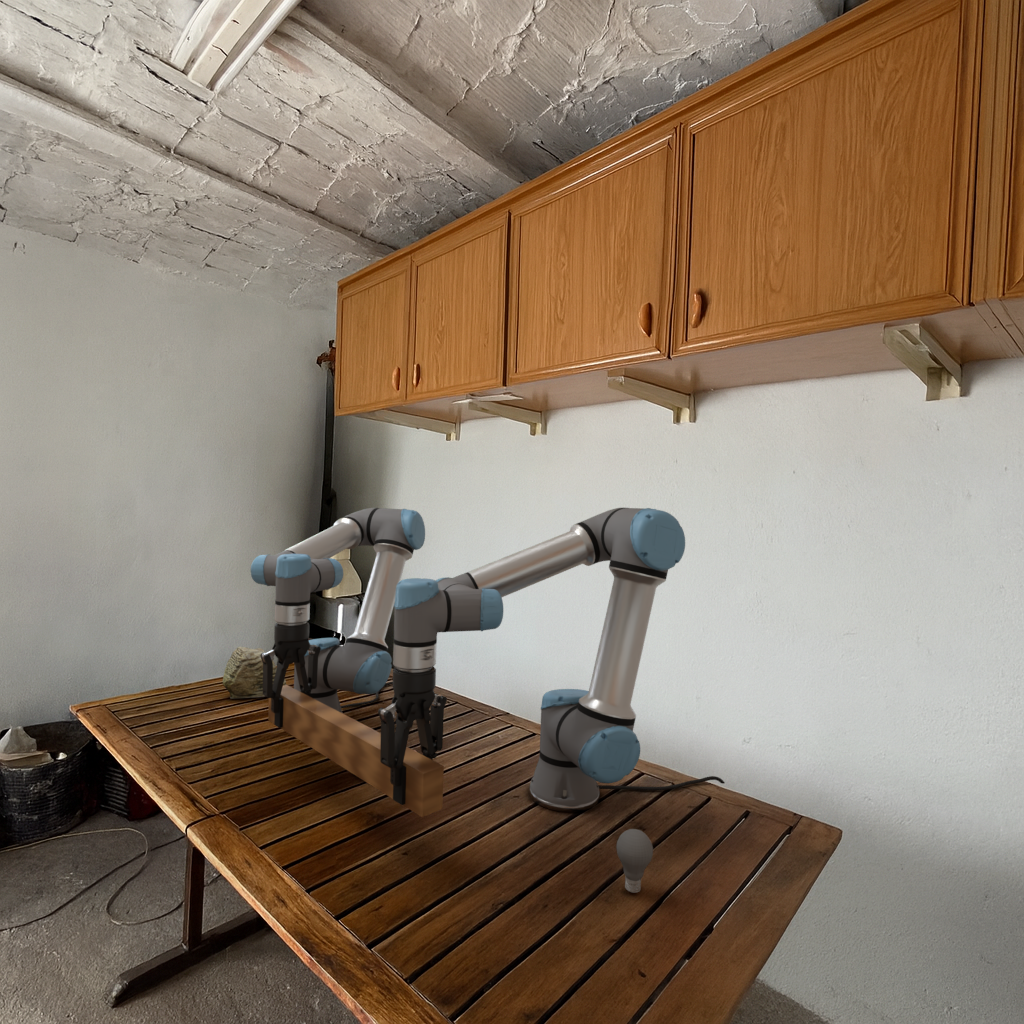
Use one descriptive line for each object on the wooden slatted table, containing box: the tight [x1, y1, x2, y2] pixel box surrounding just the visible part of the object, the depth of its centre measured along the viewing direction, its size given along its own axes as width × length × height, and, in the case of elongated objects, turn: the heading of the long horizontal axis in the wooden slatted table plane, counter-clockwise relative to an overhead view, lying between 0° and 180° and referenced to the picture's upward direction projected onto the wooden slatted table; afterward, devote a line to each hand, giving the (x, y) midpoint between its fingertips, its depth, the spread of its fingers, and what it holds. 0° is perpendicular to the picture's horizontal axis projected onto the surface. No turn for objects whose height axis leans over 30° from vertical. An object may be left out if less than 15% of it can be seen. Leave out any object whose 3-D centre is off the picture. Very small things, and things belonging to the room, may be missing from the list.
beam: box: [267, 684, 445, 818], centre depth 129 cm, size 59×4×8 cm, turn 46°
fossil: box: [222, 646, 287, 699], centre depth 198 cm, size 9×18×15 cm, turn 132°
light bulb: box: [615, 828, 654, 894], centre depth 106 cm, size 6×6×10 cm
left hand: (289, 723), depth 145 cm, fingers closed on beam, 4 cm apart
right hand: (411, 796), depth 113 cm, fingers closed on beam, 4 cm apart
